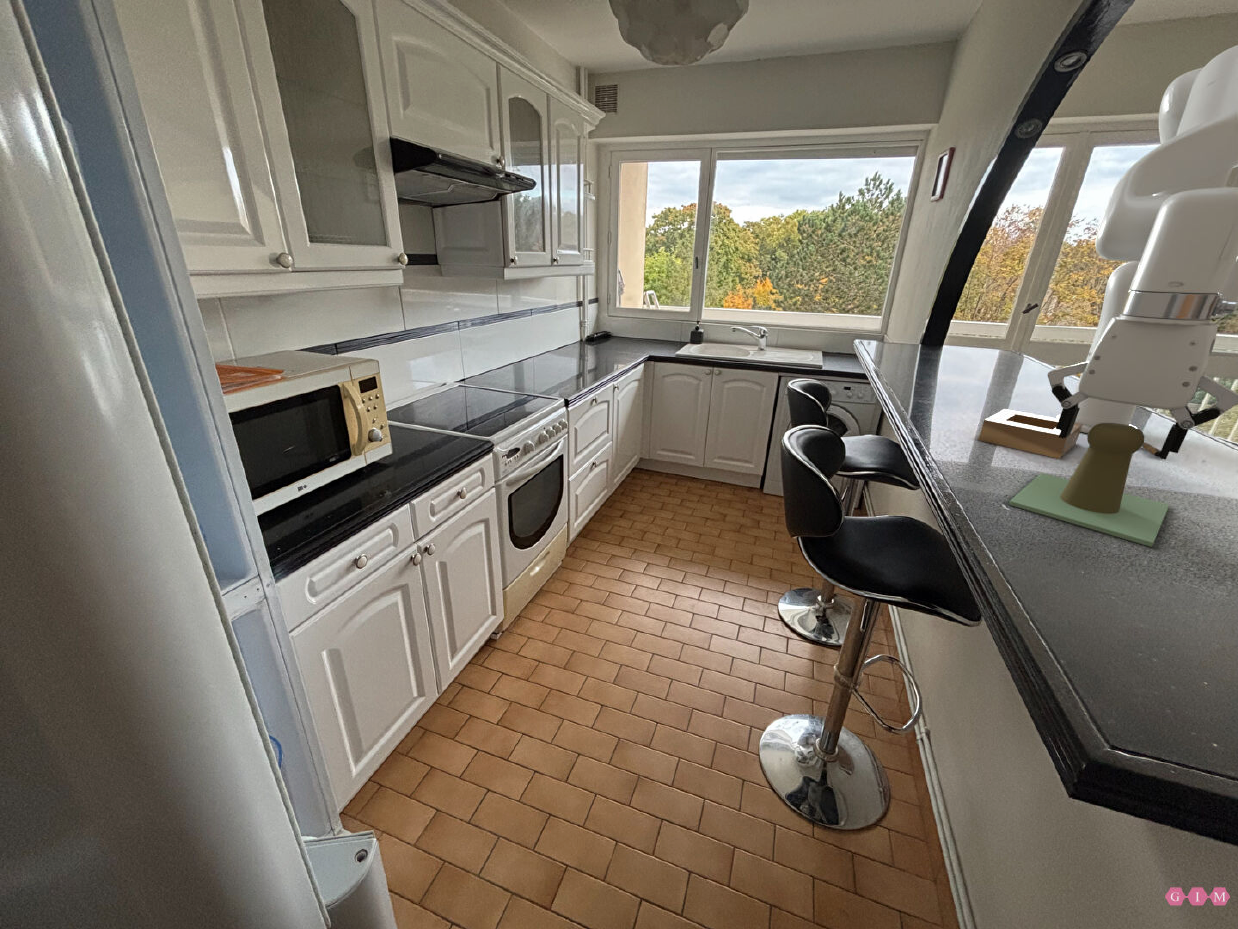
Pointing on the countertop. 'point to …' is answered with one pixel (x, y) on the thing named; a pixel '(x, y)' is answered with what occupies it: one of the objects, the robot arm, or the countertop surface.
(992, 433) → the holder
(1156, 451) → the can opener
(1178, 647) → the countertop surface
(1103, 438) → the cork
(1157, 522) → the mat
